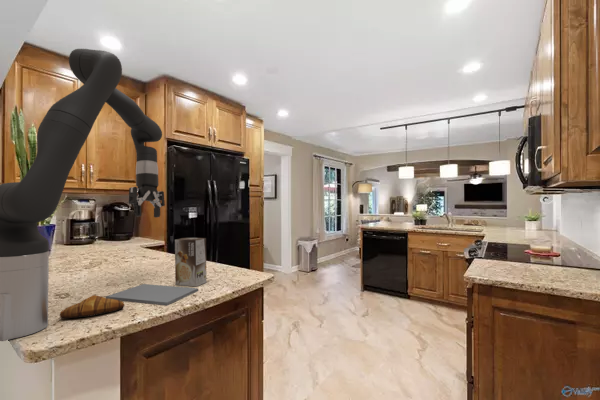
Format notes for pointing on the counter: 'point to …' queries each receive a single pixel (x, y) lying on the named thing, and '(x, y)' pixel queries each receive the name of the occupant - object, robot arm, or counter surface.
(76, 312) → the croissant
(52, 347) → the counter surface
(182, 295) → the mat
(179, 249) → the coffee box
